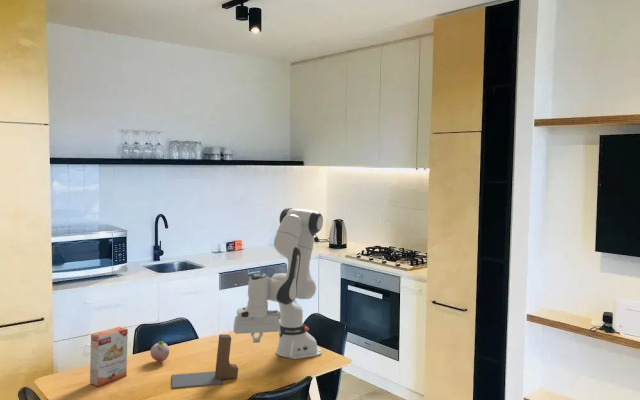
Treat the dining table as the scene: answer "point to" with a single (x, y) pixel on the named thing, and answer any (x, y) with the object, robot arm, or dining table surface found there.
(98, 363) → the cracker box
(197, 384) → the charcoal rubber mat
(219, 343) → the wooden block
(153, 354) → the turnip
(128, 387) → the dining table surface
